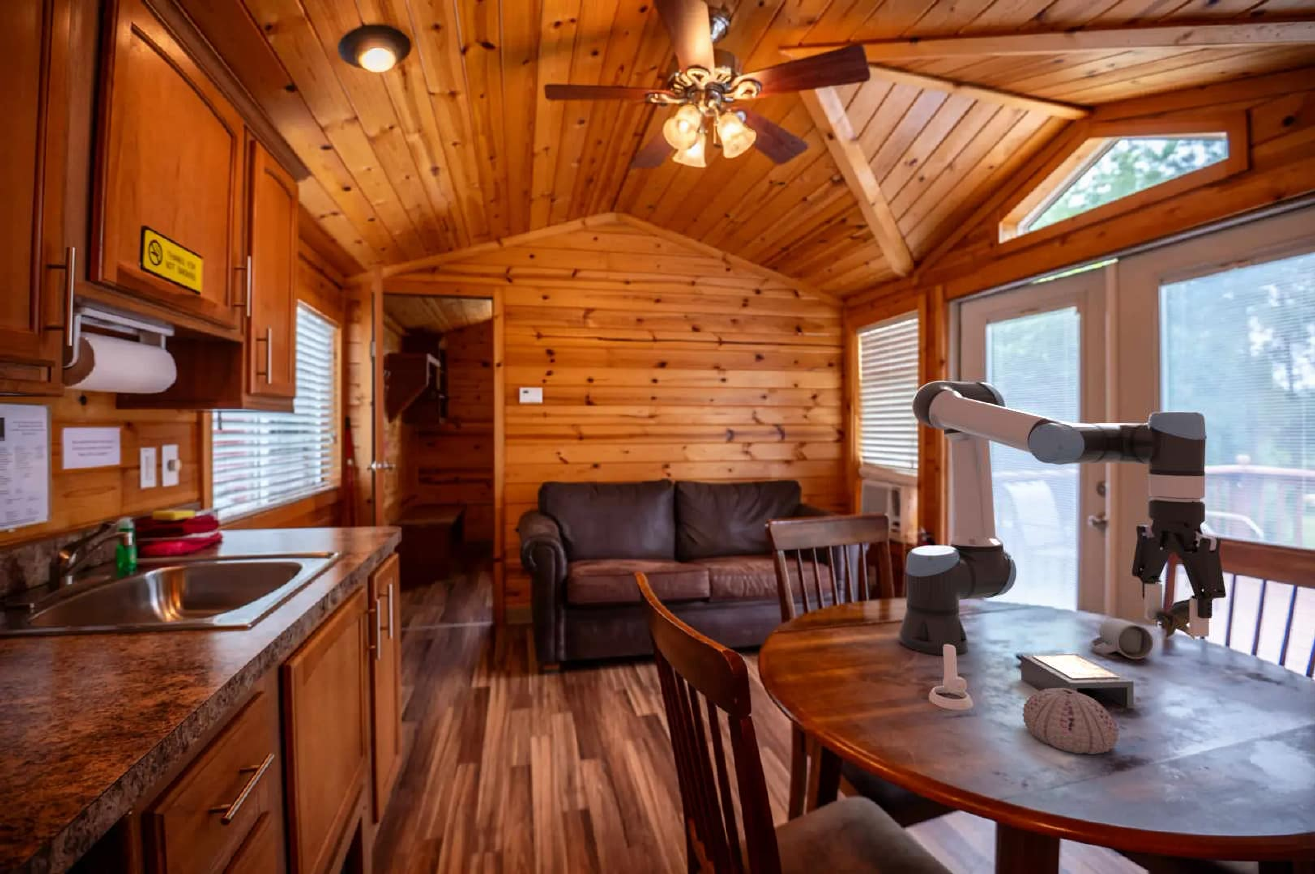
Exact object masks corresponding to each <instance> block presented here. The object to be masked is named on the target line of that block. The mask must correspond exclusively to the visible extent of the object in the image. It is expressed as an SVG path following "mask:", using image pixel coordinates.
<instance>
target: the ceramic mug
mask: <svg viewBox="0 0 1315 874" xmlns="http://www.w3.org/2000/svg"><path fill="white" fill-rule="evenodd" d="M1103 643H1104V644H1105V646H1099V645H1102V644H1103ZM1089 644H1090V647H1091V649H1092V651H1093V652H1095V653H1097V654H1110V653H1113V652H1118V653H1119V654H1120V655H1122V656H1124V657H1126V658H1129V659H1131V660H1132V659H1133V660H1140V659H1144V658H1145V657H1147V656H1149V654H1151V652H1152V650H1153V647H1154V638H1153V635H1152V634H1151V633H1150V631H1149V630H1148V629H1147V628H1145V627H1144V626H1142V625H1139V624H1137V623H1134V622H1130V621H1128V620H1124V619H1120V618H1110V619H1109V618H1108V619H1107V620H1104V621H1103V623H1101V624H1100V627H1099V636H1098V637H1097V638H1094V639H1092V640H1091V641H1090V642H1089Z"/></svg>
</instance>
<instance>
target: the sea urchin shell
mask: <svg viewBox="0 0 1315 874" xmlns="http://www.w3.org/2000/svg"><path fill="white" fill-rule="evenodd" d="M1022 710H1023V713H1022V717H1023V722H1024V725H1025V727H1026V728H1027V729H1028V731H1029V732H1030V733H1031V735H1032V736H1034V737H1035V738H1037V739H1039V740H1040V741H1041V742H1044V743H1045V744H1047V745H1052V746H1053V748H1056V749H1060V750H1061V751H1066V752H1071V753H1073V754H1079V755H1080V754H1083V753H1085V754H1088V755H1089V754H1090V755H1091V756H1092V755H1096V754H1100V753H1102V754H1103V753H1105V752H1109V750H1111V749H1113V747H1115V746H1117V745H1116V743H1117V742H1119V739H1118V736H1119V733H1118V732H1119V730H1120V729H1119V728H1118V726H1117V725H1118V723H1117V722H1116V721H1115V719H1114V718H1113V716H1112V715H1111V713H1110V712H1109V711H1108V710H1107V709H1106V708H1105V707H1104V706H1103V705H1102V704H1100V703H1099V702H1098V701H1097V700H1096V699H1094V698H1092V697H1090V696H1089V695H1086V694H1084V693H1081V692H1078V691H1077V692H1076V691H1074V690H1071V689H1068V688H1052V689H1051V688H1050V689H1045V690H1042V691H1040V690H1039V691H1038V692H1036V693H1034V694H1033V695H1031V696H1030V697H1029V698H1028V700H1026V701H1025V702H1024V703H1023V708H1022Z"/></svg>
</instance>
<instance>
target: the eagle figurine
mask: <svg viewBox="0 0 1315 874" xmlns="http://www.w3.org/2000/svg"><path fill="white" fill-rule="evenodd" d="M1147 615H1148V617H1149V618H1150V619H1153V620H1152V621H1155V622H1156V623H1158V622H1160V623H1158V626H1160V627H1163V628H1165V629H1166V633H1165V638H1166V639H1169V638H1170V637H1171V636H1172V635H1174V634H1175V632H1176V630H1178V631H1181V632H1184V633H1185V634H1186V635H1188V636H1189V637H1191V638H1192V639H1193V640H1194V639H1196V638H1195V637H1193V636H1190V635H1189V626H1188V625H1189V616H1190V598H1188V599H1184V600H1180V601H1175V602H1174V603H1173V604H1172V606H1171V608H1170V610H1169V612H1167V611H1166V610H1165V609H1164V608H1163V606H1162V607H1154V608H1151V609H1149V610H1148V612H1147ZM1157 619H1159V620H1157Z"/></svg>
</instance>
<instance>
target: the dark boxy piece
mask: <svg viewBox="0 0 1315 874" xmlns="http://www.w3.org/2000/svg"><path fill="white" fill-rule="evenodd" d="M1020 679H1021V680H1022V681H1023V682H1025V683H1027V684H1028V685H1030V686H1032V687H1033V688H1035V689H1036V690H1038V691H1039V692H1040V691H1042V690H1045V689H1050V688H1051V689H1052V688H1068V689H1071V690H1074V691H1076V692H1078V689H1090V690H1092V691H1095V692H1096V693H1098V694H1100V695H1102V696H1104V697H1105V698H1107V699H1109V700H1111V701H1113V702H1115V703H1117V704H1118V705H1120V706H1122V707H1124V708H1125V709H1128V710H1129V709H1132V710H1133V709H1134V707H1135V705H1134V703H1135V701H1134V697H1135V696H1134V694H1135V693H1134V687H1135V686H1134V680H1132V679H1129V678H1127V677H1126V676H1123V675H1121V674H1119V673H1117V672H1115V671H1113V670H1112V669H1109V668H1107V667H1105V666H1103V665H1101V664H1098V663H1096V662H1095V661H1093V660H1090V659H1088V658H1086V657H1084V656H1082V655H1080V654H1077V653H1061V654H1059V653H1058V654H1057V653H1056V654H1053V653H1051V654H1021V655H1020Z"/></svg>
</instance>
